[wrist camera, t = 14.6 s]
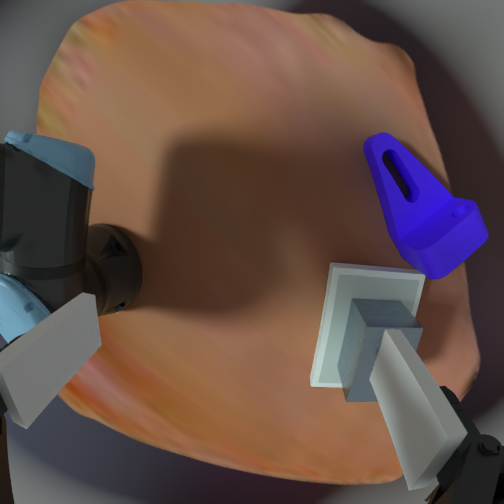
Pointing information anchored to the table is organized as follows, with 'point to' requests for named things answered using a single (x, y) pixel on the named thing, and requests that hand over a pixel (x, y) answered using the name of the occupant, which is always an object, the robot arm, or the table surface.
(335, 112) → the table surface
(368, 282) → the tray
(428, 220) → the bracket
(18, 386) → the robot arm
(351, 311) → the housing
